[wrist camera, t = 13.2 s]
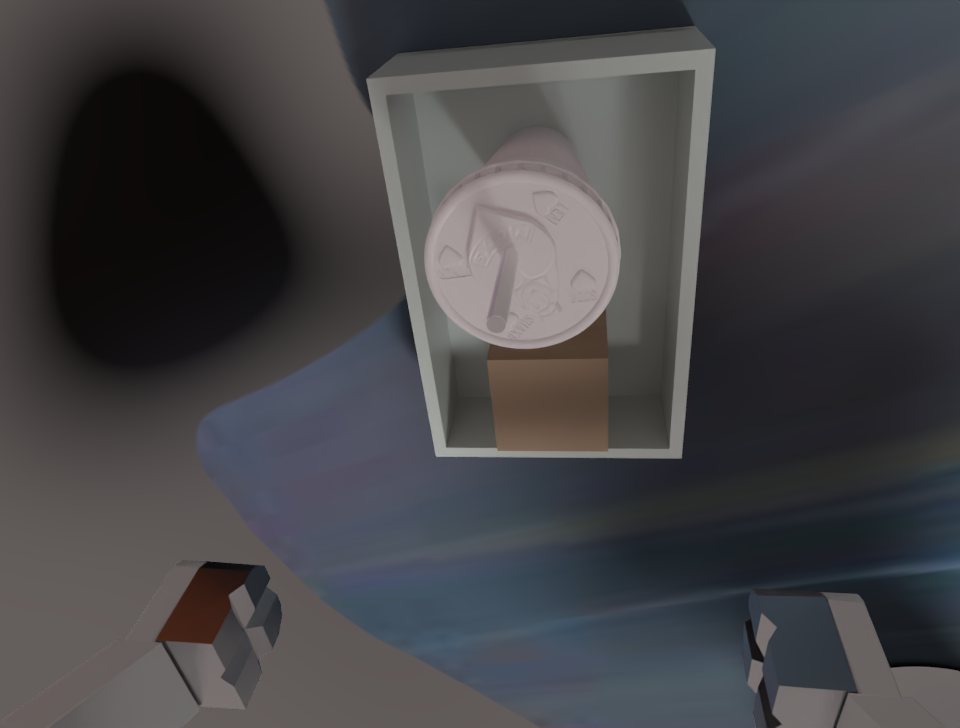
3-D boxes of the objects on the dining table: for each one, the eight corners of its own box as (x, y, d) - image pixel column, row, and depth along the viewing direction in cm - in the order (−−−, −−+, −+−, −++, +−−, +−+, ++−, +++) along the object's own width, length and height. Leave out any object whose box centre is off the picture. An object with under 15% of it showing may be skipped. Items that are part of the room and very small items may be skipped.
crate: (670, 395, 36) (681, 458, 32) (451, 397, 38) (436, 456, 34) (695, 25, 26) (715, 48, 22) (397, 53, 28) (366, 78, 24)
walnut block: (604, 374, 35) (608, 451, 30) (509, 375, 36) (497, 450, 31) (604, 289, 32) (608, 358, 27) (500, 292, 33) (486, 360, 28)
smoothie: (563, 60, 27) (548, 177, 15) (638, 193, 29) (673, 378, 18) (436, 146, 29) (341, 302, 18) (515, 261, 32) (477, 461, 21)
